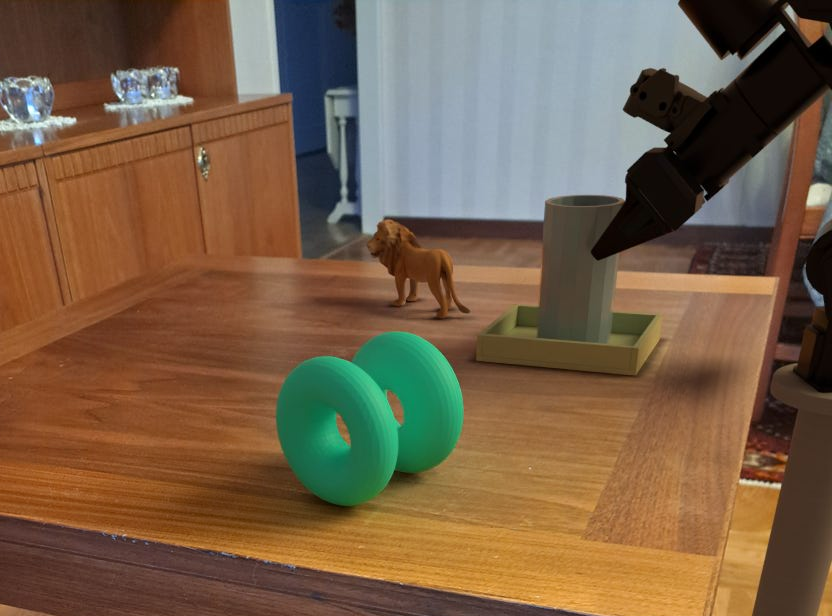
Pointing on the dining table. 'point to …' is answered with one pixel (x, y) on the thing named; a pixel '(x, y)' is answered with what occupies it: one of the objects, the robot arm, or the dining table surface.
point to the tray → (569, 343)
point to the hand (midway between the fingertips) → (606, 246)
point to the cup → (576, 270)
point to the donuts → (368, 417)
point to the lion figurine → (414, 265)
